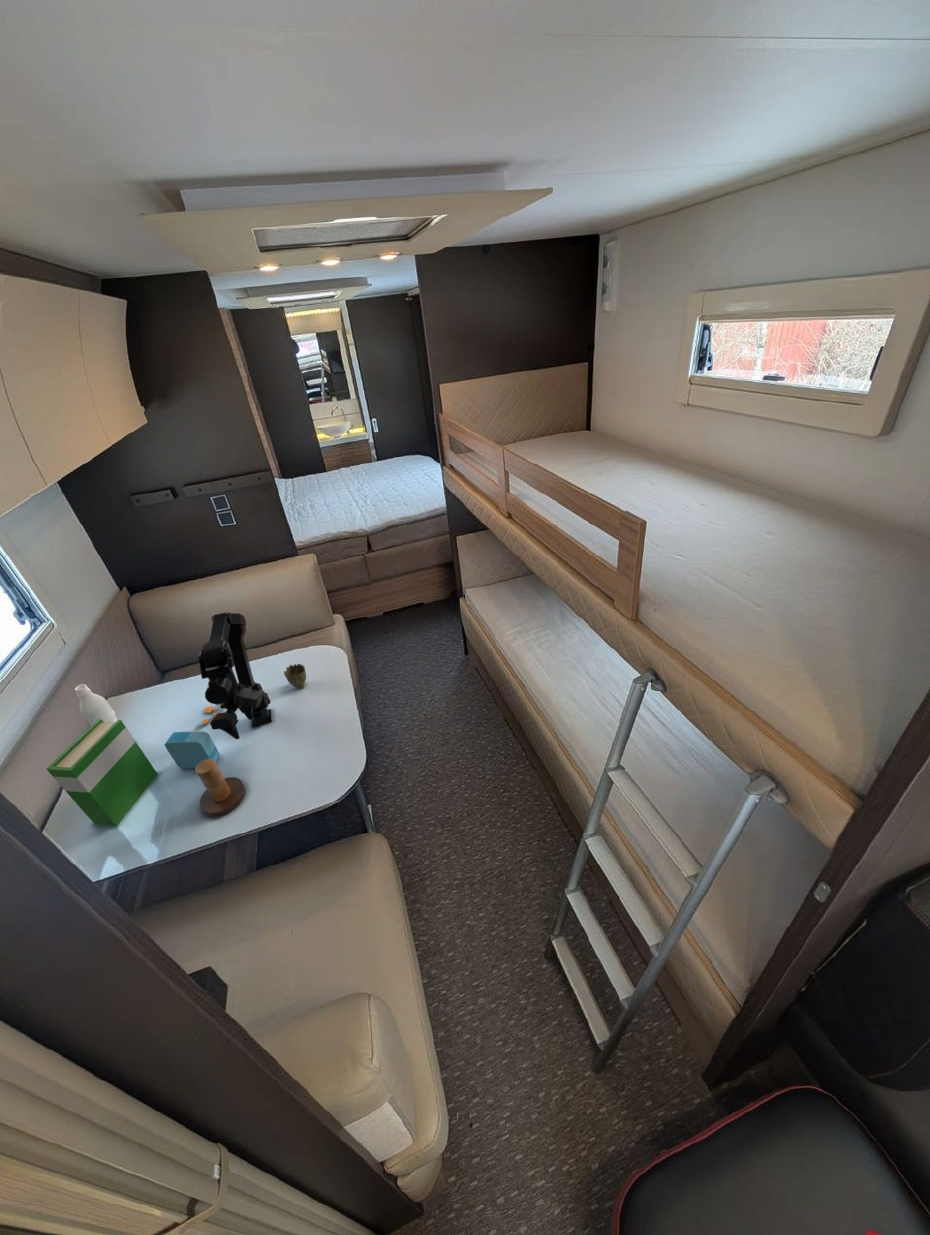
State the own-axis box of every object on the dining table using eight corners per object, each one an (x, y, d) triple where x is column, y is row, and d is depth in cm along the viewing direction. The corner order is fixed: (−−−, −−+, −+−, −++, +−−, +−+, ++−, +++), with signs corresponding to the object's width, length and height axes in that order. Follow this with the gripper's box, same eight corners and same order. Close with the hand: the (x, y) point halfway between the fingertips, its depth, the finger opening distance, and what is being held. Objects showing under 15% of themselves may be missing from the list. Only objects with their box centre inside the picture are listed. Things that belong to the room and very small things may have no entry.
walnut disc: (204, 790, 143) (201, 785, 141) (246, 775, 146) (243, 771, 144) (200, 823, 133) (197, 819, 132) (245, 807, 136) (243, 803, 135)
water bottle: (133, 740, 163) (96, 685, 149) (110, 753, 159) (69, 698, 145) (127, 730, 167) (90, 676, 154) (104, 743, 163) (64, 688, 149)
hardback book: (137, 773, 151) (98, 719, 137) (158, 774, 149) (120, 719, 136) (94, 824, 136) (46, 768, 123) (116, 825, 135) (70, 770, 122)
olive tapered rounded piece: (304, 693, 175) (298, 676, 171) (286, 692, 177) (279, 675, 172) (313, 680, 181) (307, 663, 177) (296, 678, 183) (290, 662, 178)
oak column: (223, 784, 141) (207, 756, 134) (234, 790, 139) (218, 762, 132) (209, 797, 138) (191, 769, 131) (220, 804, 135) (203, 775, 128)
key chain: (209, 703, 175) (208, 702, 175) (228, 702, 175) (228, 700, 174) (193, 729, 164) (192, 728, 164) (214, 727, 164) (213, 726, 164)
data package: (221, 756, 153) (207, 730, 146) (215, 768, 149) (199, 742, 143) (186, 757, 154) (170, 731, 147) (179, 769, 150) (162, 743, 144)
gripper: (239, 701, 129) (257, 746, 136) (266, 666, 146) (281, 708, 153) (200, 705, 130) (220, 750, 136) (231, 670, 147) (248, 711, 153)
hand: (244, 728), depth 145 cm, fingers open, 9 cm apart
